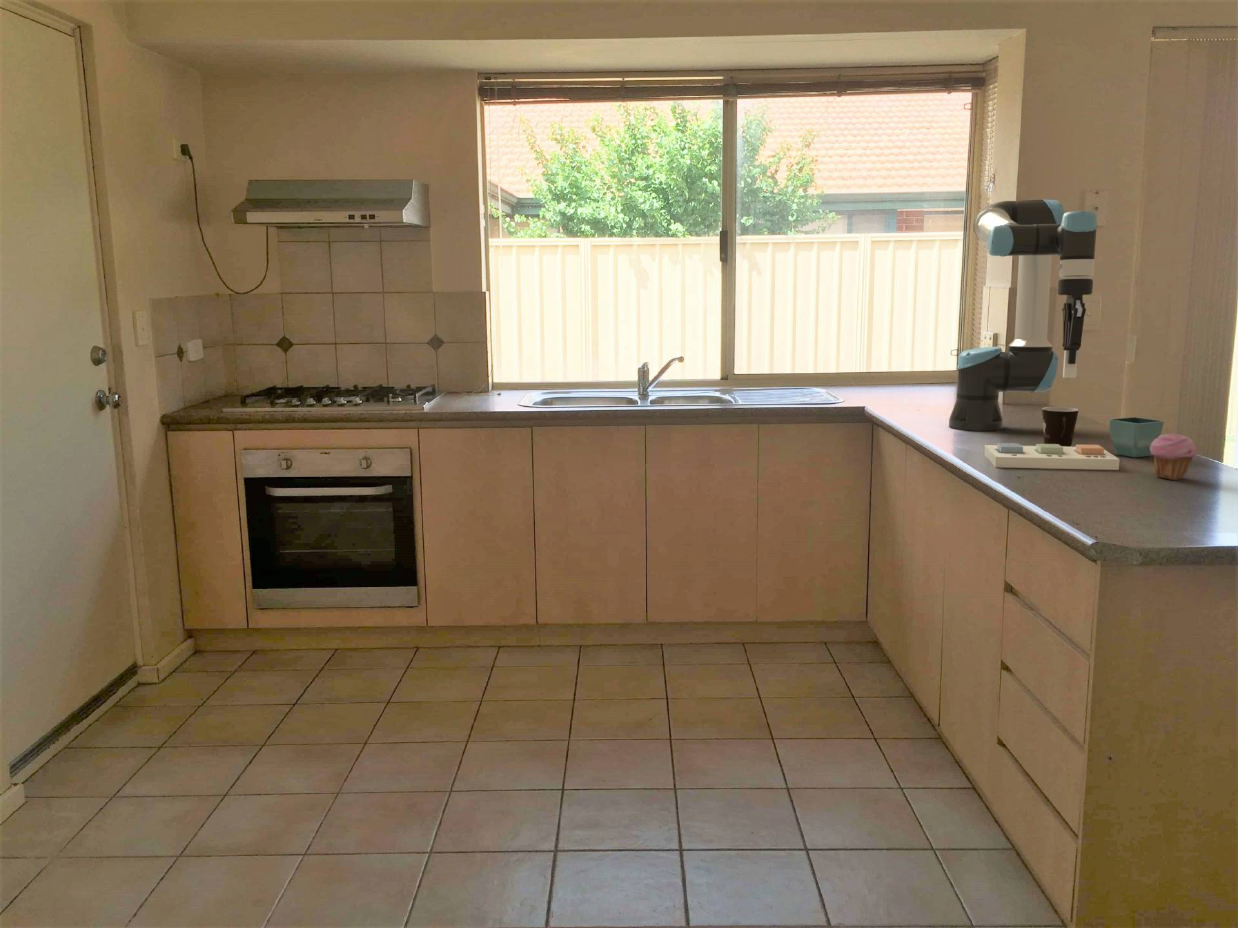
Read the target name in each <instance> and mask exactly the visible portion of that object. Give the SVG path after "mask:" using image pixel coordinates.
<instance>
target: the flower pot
mask: <svg viewBox="0 0 1238 928" xmlns="http://www.w3.org/2000/svg"><path fill="white" fill-rule="evenodd" d="M1108 423H1109V435H1110V436H1109V437H1110V440H1111V443H1112V446H1113V448H1114V450H1115V452H1116V453H1117V455H1119V456H1125V457H1130V458H1135V459H1136V458H1139V457H1142V458H1143V457H1149V456H1151V455H1152V454H1151V452H1150V446H1151V443H1152V442H1153V441H1154V440H1155V439H1157V438H1158V437H1159V436H1160V435H1162V431H1163V427H1164V423H1165V422H1164V420H1158V419H1153V418H1144V417H1138V416H1137V417H1136V416H1131V417H1128V416H1127V417H1120V418H1110V419H1109V420H1108Z"/></svg>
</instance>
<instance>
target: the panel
mask: <svg viewBox="0 0 1238 928" xmlns="http://www.w3.org/2000/svg"><path fill="white" fill-rule="evenodd" d="M1021 446H1022V447H1023V454H1016V453H998V452H997V444H996V445H995V444H994V445H993V444H985V445H984V454H983V455H984V457H985V458H986V459H987V460H988V461H989V462H990V463H991V464H992V465H993V466H994V468H1009V469H1010V468H1011V469H1012V468H1017V469H1055V470H1056V469H1057V470H1058V469H1060V470H1061V469H1062V470H1098V471H1099V470H1100V471H1101V470H1102V471H1103V470H1107V471H1114V470H1115V471H1119V469H1120V459H1119V458H1118V457H1117V456H1115V455H1114V454H1112V453H1110V452H1109V451H1108V450H1106V449H1104V455H1079V454H1077V453H1076V452H1075V451H1076V446H1071V447H1065V446H1061V447H1063V454H1038V453H1037V452H1036V445H1021Z"/></svg>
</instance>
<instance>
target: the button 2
mask: <svg viewBox="0 0 1238 928" xmlns="http://www.w3.org/2000/svg"><path fill="white" fill-rule="evenodd" d="M1035 446H1036V452H1037V453H1038V454H1063V447H1061V446H1060V445H1059V444H1044V443H1036V444H1035Z"/></svg>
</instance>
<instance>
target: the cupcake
mask: <svg viewBox="0 0 1238 928" xmlns="http://www.w3.org/2000/svg"><path fill="white" fill-rule="evenodd" d="M1150 452H1151V454H1150V455H1153V460H1154V475H1155V476H1156V477H1158V478H1163V479H1168V480H1171V481H1177V480H1179V479H1182V478H1183V477H1185V475H1186V474H1187V472H1189V469H1190V466H1191V463H1192V460H1193V458H1195V457H1196V456H1197V448H1196V444H1195V443H1194V441H1193V439H1191V437H1188V436H1186V435H1183V434H1177V433H1169V434H1168V433H1167V434H1161V435H1160V436H1159V437H1158V438H1157V439H1155V440H1154V441H1153V442H1152V443H1151V446H1150Z"/></svg>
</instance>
